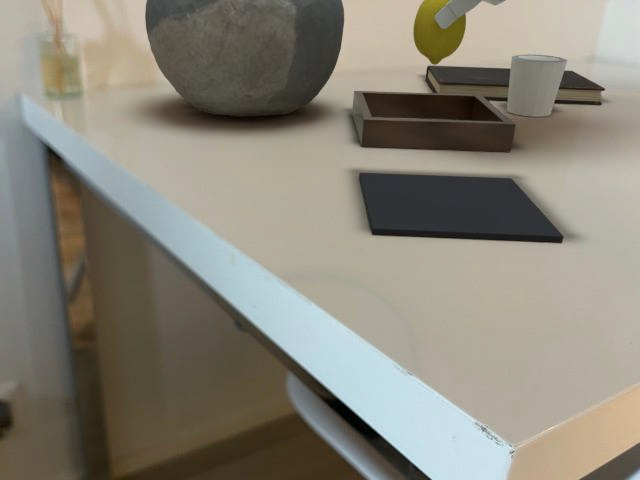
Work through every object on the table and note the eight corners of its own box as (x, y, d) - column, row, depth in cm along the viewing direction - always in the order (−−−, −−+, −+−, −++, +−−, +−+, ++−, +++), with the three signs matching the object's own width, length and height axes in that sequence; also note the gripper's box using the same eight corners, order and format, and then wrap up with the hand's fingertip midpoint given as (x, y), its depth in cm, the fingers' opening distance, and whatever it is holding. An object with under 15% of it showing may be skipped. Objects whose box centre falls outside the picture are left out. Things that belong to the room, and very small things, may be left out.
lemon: (468, 68, 73) (480, -12, 69) (420, 68, 72) (430, -12, 68) (447, 61, 78) (457, -14, 74) (402, 61, 77) (410, -15, 73)
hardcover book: (601, 104, 94) (605, 88, 93) (436, 98, 97) (438, 81, 96) (568, 84, 108) (571, 70, 107) (425, 79, 111) (427, 64, 110)
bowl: (157, 137, 74) (150, -10, 67) (144, 94, 95) (138, -21, 88) (365, 130, 79) (378, -8, 72) (309, 90, 100) (315, -19, 93)
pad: (510, 183, 61) (511, 177, 61) (562, 242, 49) (564, 236, 49) (359, 177, 62) (359, 172, 62) (372, 234, 50) (372, 228, 50)
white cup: (499, 105, 93) (508, 52, 90) (550, 108, 92) (562, 55, 88) (505, 115, 87) (515, 60, 84) (560, 119, 86) (573, 62, 82)
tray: (476, 118, 85) (480, 94, 84) (510, 152, 71) (516, 124, 70) (352, 114, 86) (354, 90, 85) (361, 146, 72) (363, 119, 71)
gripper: (507, -98, 76) (410, -7, 81) (552, -116, 58) (423, 4, 63) (539, -54, 77) (442, 33, 83) (594, -57, 59) (464, 54, 65)
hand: (434, 21), depth 73 cm, fingers closed on lemon, 5 cm apart
